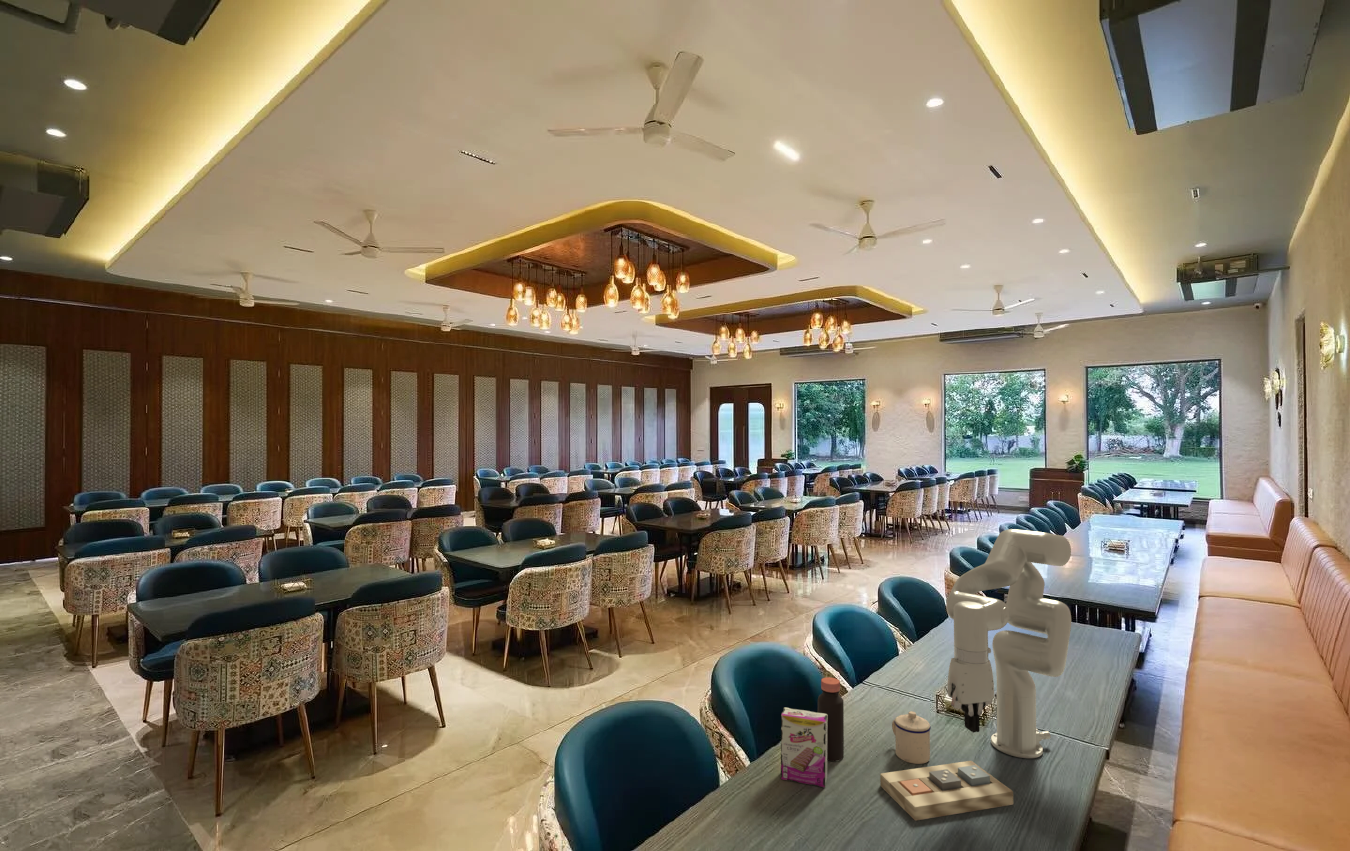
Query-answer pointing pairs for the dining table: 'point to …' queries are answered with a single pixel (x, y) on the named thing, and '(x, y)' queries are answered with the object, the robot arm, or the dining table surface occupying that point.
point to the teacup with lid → (912, 738)
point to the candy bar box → (804, 746)
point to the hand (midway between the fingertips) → (972, 729)
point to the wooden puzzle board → (944, 793)
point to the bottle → (833, 717)
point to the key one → (915, 787)
